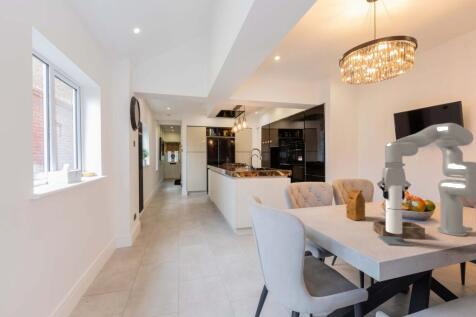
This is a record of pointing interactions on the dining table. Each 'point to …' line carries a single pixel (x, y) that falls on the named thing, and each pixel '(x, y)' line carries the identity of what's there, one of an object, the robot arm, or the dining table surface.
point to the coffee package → (355, 205)
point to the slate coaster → (394, 241)
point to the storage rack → (407, 230)
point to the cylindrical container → (394, 210)
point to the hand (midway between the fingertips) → (393, 198)
